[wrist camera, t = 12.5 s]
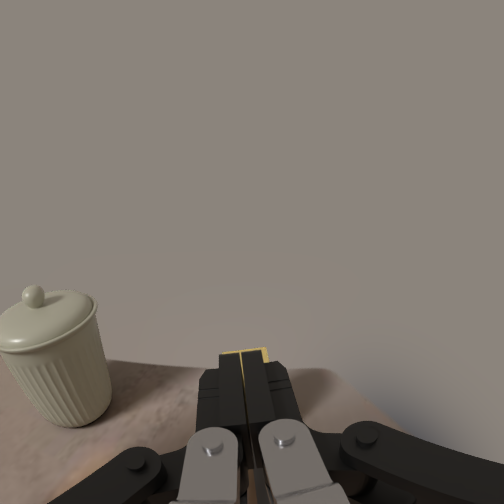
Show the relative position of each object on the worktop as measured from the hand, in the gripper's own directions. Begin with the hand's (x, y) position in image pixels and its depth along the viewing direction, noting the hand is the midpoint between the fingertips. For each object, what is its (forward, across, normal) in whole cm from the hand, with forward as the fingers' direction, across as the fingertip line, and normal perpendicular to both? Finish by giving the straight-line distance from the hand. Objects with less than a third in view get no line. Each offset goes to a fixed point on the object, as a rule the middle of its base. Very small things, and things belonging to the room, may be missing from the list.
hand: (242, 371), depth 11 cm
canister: (+25, +28, +25) cm, 45 cm away
